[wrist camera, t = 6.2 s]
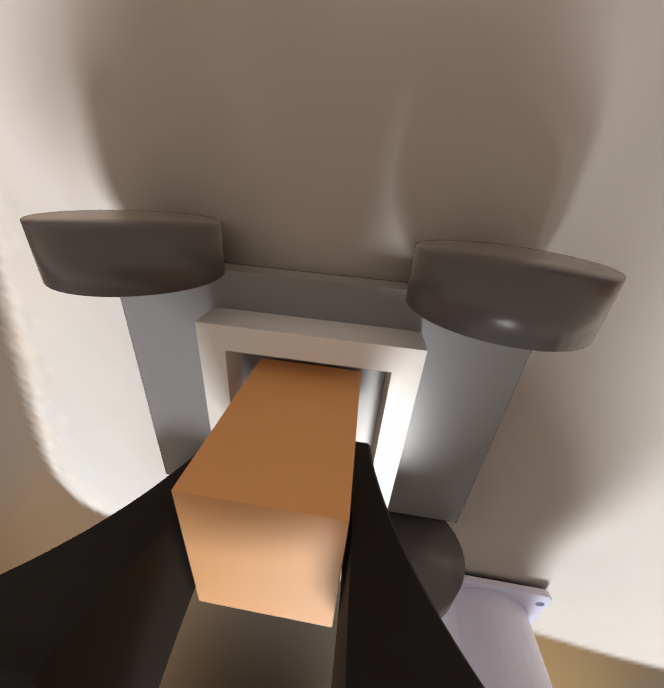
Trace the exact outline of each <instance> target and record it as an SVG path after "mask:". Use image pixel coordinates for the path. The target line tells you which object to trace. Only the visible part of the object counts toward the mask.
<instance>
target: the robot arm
mask: <svg viewBox="0 0 664 688" xmlns="http://www.w3.org/2000/svg"><path fill="white" fill-rule="evenodd" d="M194 456H195V455H194ZM194 456H192V457H191V458H190V459H189V460H188V461H187V462H185V463H184V464H183V465H182V466H180V467H179V468H178V469H177V470H175V471H174V472H173V473H171V474H170V475H169V476H168V477H166V478H165V479H164V480H162V481H161V482H160V483H158V484H157V485H156V486H154V487H153V488H152V489H150V490H149V491H147V492H146V493H145V494H143V495H142V496H140V497H139V498H137V499H136V500H134V501H133V502H131V503H130V504H128V505H127V506H125V507H124V508H122V509H121V510H119V511H117V512H116V513H114V514H113V515H111V516H109V517H108V518H106V519H104V520H103V521H101V522H100V523H98V524H96V525H95V526H93V527H91V528H90V529H88V530H86V531H85V532H83V533H81V534H79V535H77V536H76V537H73V538H72V539H70V540H68V541H66V542H64V543H63V544H61V545H59V546H57V547H55V548H53V549H51V550H49V551H48V552H46V553H44V554H42V555H40V556H38V557H36V558H34V559H32V560H30V561H28V562H26V563H24V564H22V565H20V566H17V567H15V568H13V569H11V570H9V571H7V572H5V573H3V574H1V575H0V688H159V686H160V683H161V680H162V677H163V674H164V671H165V668H166V665H167V663H168V659H169V657H170V654H171V651H172V648H173V646H174V643H175V640H176V637H177V634H178V632H179V629H180V626H181V624H182V621H183V618H184V616H185V613H186V610H187V607H188V605H189V602H190V600H191V597H192V594H193V592H194V589H195V587H196V585H195V581H194V577H193V574H192V570H191V566H190V562H189V558H188V554H187V550H186V546H185V542H184V539H183V535H182V531H181V527H180V523H179V519H178V515H177V511H176V507H175V503H174V500H173V496H172V492H171V490H172V488H173V487H174V485H175V484H176V482H177V481H178V479H179V478H180V476H181V475H182V474H183V472H184V471H185V469H186V468H187V466H188V465H189V463H190V462H191V460H192V459H193V457H194ZM551 600H552V599H551V596H550V594H549V592H548V591H547V590H545V589H540V588H535V587H529V586H524V585H518V584H513V583H507V582H502V581H496V580H491V579H485V578H480V577H474V576H468V575H464V579H463V583H462V586H461V588H460V590H459V592H458V594H457V596H456V598H455V600H454V601H453V603H452V605H451V607H450V609H449V610H448V612H447V613H446V614H445V615H444V616H443V617H442V618H441V617H440V616H439V614H438V612H437V610H436V608H435V607H434V605H433V603H432V601H431V599H430V598H429V596H428V594H427V592H426V590H425V589H424V587H423V585H422V583H421V581H420V580H419V578H418V576H417V574H416V572H415V570H414V568H413V566H412V564H411V562H410V560H409V558H408V556H407V553H406V551H405V549H404V547H403V545H402V543H401V541H400V538H399V536H398V534H397V531H396V529H395V527H394V524H393V522H392V519H391V517H390V514H389V512H388V509H387V506H386V503H385V501H384V498H383V495H382V492H381V489H380V486H379V482H378V479H377V476H376V472H375V468H374V464H373V460H372V455H371V448H370V445H369V444H368V443H364V442H357V441H356V443H355V455H354V468H353V480H352V493H351V505H350V518H349V526H348V532H347V538H346V544H345V550H344V556H343V562H342V573H341V592H340V602H339V613H338V624H337V634H336V644H335V654H334V665H333V676H332V686H331V688H553V687H552V684H551V681H550V678H549V675H548V673H547V670H546V667H545V664H544V661H543V659H542V656H541V653H540V650H539V647H538V644H537V642H536V639H535V636H534V633H533V630H532V628H531V625H532V623H533V622H534V621H535V620H536V619H537V617H538V616H539V615H540V614H541V613H542V611H543V610H544V609H545V608H546V607H547V605H548V604H549V603H550V602H551Z"/></svg>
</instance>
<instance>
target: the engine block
mask: <svg viewBox="0 0 664 688" xmlns="http://www.w3.org/2000/svg"><path fill="white" fill-rule="evenodd" d="M360 380H361V371H354V370H347V369H339V368H332V367H324V366H317V365H309V364H302V363H294V362H287V361H279V360H272V359H264V358H261V359H260V360H259V362H258V363H257V365H256V366H255V368H254V369H253V371H252V372H251V374H250V375H249V377H248V378H247V380H246V381H245V382H244V384H243V385H242V387H241V388H240V390H239V391H238V393H237V394H236V396H235V397H234V399H233V400H232V402H231V403H230V405H229V406H228V407H227V409H226V410H225V412H224V413H223V415H222V416H221V418H220V419H219V421H218V422H217V424H216V425H215V427H214V428H213V429H212V431H211V432H210V434H209V435H208V437H207V438H206V440H205V441H204V443H203V444H202V446H201V447H200V449H199V450H198V452H197V453H196V454H195V456H194V457H193V459H192V460H191V462H190V463H189V465H188V466H187V468H186V469H185V471H184V472H183V474H182V475H181V476H180V478H179V479H178V481H177V482H176V484H175V485H174V487H173V488H172V490H171V492H172V496H173V500H174V503H175V507H176V511H177V515H178V519H179V523H180V527H181V531H182V535H183V539H184V542H185V546H186V550H187V554H188V558H189V562H190V566H191V570H192V574H193V577H194V581H195V585H196V589H197V592H198V597H199V601H204V602H208V603H213V604H218V605H224V606H228V607H233V608H238V609H243V610H249V611H254V612H259V613H263V614H268V615H273V616H278V617H283V618H288V619H293V620H298V621H303V622H308V623H313V624H318V625H323V626H328V627H332V622H333V616H334V610H335V604H336V598H337V592H338V586H339V580H340V574H341V568H342V562H343V556H344V550H345V544H346V538H347V532H348V526H349V518H350V505H351V493H352V480H353V468H354V455H355V443H356V430H357V418H358V405H359V392H360Z"/></svg>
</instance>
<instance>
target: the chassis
mask: <svg viewBox="0 0 664 688" xmlns="http://www.w3.org/2000/svg"><path fill="white" fill-rule="evenodd" d="M20 222H21V224H22V227H23V230H24V232H25V235H26V238H27V240H28V243H29V246H30V248H31V251H32V254H33V256H34V259H35V262H36V264H37V267H38V270H39V272H40V275H41V278H42V280H43V283H44V284H45V285H46V286H47V287H49V288H51V289H53V290H56V291H59V292H64V293H68V294H75V295H83V296H96V297H120V298H121V302H122V306H123V310H124V314H125V317H126V321H127V325H128V329H129V333H130V337H131V340H132V344H133V348H134V352H135V356H136V360H137V363H138V367H139V371H140V375H141V379H142V383H143V386H144V390H145V394H146V398H147V402H148V406H149V409H150V413H151V417H152V421H153V425H154V429H155V432H156V436H157V440H158V444H159V448H160V452H161V455H162V459H163V463H164V467H165V471H166V474H171V473H173V472H174V471H175V470H177V469H178V468H179V467H180V466H182V465H183V464H184V463H185V462H187V461H188V460H189V459H190V458H191V457H192V456H194V455H195V454H196V453H197V452H198V450H199V449H200V447H201V446H202V444H203V443H204V441H205V440H206V438H207V437H208V435H209V434H210V432H211V431H212V429H213V428H214V427H215V425H216V424H217V422H218V421H219V419H220V418H221V416H222V415H223V413H224V412H225V410H226V409H227V407H228V406H229V405H230V403H231V402H232V400H233V399H234V397H235V396H236V394H237V393H238V391H239V390H240V388H241V387H242V385H243V384H244V382H245V381H246V380H247V378H248V377H249V375H250V374H251V372H252V371H253V369H254V368H255V366H256V365H257V363H258V362H259V360H260V359H261V358H264V359H272V360H279V361H287V362H294V363H302V364H309V365H317V366H324V367H332V368H339V369H347V370H354V371H361V380H360V392H359V405H358V418H357V430H356V441H357V442H364V443H368V444H369V445H370V448H371V455H372V460H373V464H374V468H375V472H376V476H377V479H378V482H379V486H380V489H381V492H382V495H383V498H384V501H385V503H386V506H387V509H388V512H389V514H390V517H391V519H392V522H393V524H394V527H395V529H396V531H397V534H398V536H399V538H400V541H401V543H402V545H403V547H404V549H405V551H406V553H407V556H408V558H409V560H410V562H411V564H412V566H413V568H414V570H415V572H416V574H417V576H418V578H419V580H420V581H421V583H422V585H423V587H424V589H425V590H426V592H427V594H428V596H429V598H430V599H431V601H432V603H433V605H434V607H435V608H436V610H437V612H438V614H439V616H440V617H441V618H442V617H443V616H444V615H445V614H446V613H447V612H448V610H449V609H450V607H451V605H452V603H453V601H454V600H455V598H456V596H457V594H458V592H459V590H460V588H461V586H462V583H463V579H464V574H465V562H464V556H463V552H462V549H461V546H460V543H459V541H458V539H457V537H456V535H455V534H454V532H453V531H452V529H451V528H450V526H449V525H448V524H447V523H446V521H450V522H457V520H458V518H459V515H460V513H461V511H462V509H463V506H464V504H465V502H466V499H467V497H468V495H469V492H470V490H471V488H472V486H473V483H474V481H475V479H476V476H477V474H478V472H479V469H480V467H481V465H482V463H483V460H484V458H485V456H486V453H487V451H488V449H489V447H490V444H491V442H492V440H493V437H494V435H495V433H496V430H497V428H498V426H499V424H500V421H501V419H502V417H503V414H504V412H505V410H506V407H507V405H508V403H509V401H510V398H511V396H512V394H513V391H514V389H515V387H516V385H517V382H518V380H519V378H520V375H521V373H522V371H523V368H524V366H525V364H526V362H527V359H528V357H529V355H530V352H531V350H535V351H551V352H558V351H572V350H578V349H581V348H584V347H586V346H588V345H590V344H591V342H592V341H593V339H594V337H595V336H596V334H597V332H598V330H599V328H600V326H601V324H602V322H603V321H604V319H605V317H606V315H607V313H608V311H609V309H610V308H611V306H612V304H613V302H614V300H615V298H616V296H617V294H618V293H619V291H620V289H621V287H622V285H623V283H624V281H625V279H626V276H625V275H624V274H623V273H621V272H619V271H617V270H615V269H613V268H610V267H607V266H604V265H601V264H598V263H594V262H591V261H587V260H583V259H579V258H575V257H571V256H566V255H561V254H557V253H552V252H546V251H541V250H535V249H529V248H523V247H516V246H509V245H502V244H494V243H484V242H474V241H459V240H430V241H423V242H419V243H417V245H416V248H415V253H414V258H413V264H412V269H411V274H410V279H409V283H404V282H394V281H385V280H376V279H367V278H357V277H348V276H339V275H330V274H321V273H311V272H302V271H293V270H284V269H274V268H265V267H256V266H247V265H238V264H228V263H224V254H223V242H222V231H221V222H220V221H219V220H217V219H214V218H210V217H205V216H199V215H192V214H183V213H172V212H157V211H135V210H79V211H59V212H47V213H39V214H32V215H27V216H24V217H22V218H20Z"/></svg>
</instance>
